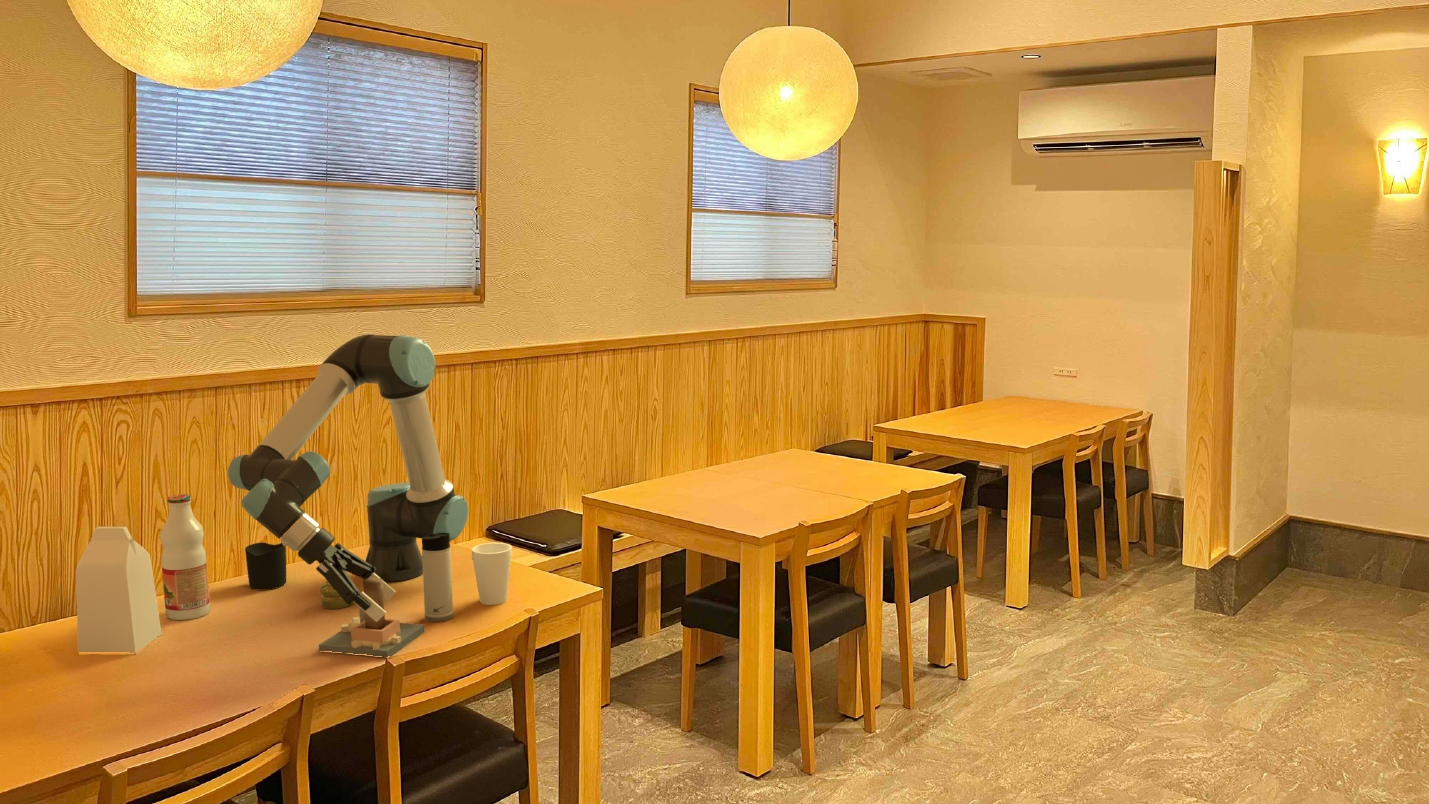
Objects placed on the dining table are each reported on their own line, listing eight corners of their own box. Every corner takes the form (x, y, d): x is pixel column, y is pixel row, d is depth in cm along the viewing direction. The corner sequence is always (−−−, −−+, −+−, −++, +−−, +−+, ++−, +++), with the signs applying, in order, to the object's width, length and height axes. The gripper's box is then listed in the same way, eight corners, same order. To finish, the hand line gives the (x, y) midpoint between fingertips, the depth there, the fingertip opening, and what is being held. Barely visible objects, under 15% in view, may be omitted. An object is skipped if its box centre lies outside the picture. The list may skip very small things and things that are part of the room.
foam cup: (518, 594, 276) (516, 543, 274) (507, 607, 267) (506, 554, 265) (480, 593, 277) (478, 542, 275) (468, 606, 268) (466, 553, 266)
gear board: (360, 625, 256) (358, 587, 254) (425, 631, 252) (423, 593, 251) (319, 652, 240) (316, 612, 239) (387, 658, 236) (385, 618, 235)
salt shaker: (359, 604, 270) (357, 563, 268) (330, 612, 265) (328, 570, 263) (343, 597, 275) (341, 557, 273) (315, 604, 270) (312, 564, 268)
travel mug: (440, 624, 256) (436, 538, 253) (419, 619, 260) (415, 534, 256) (459, 616, 261) (456, 532, 258) (439, 611, 265) (435, 528, 262)
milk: (78, 654, 239) (67, 534, 235) (107, 635, 250) (96, 520, 246) (135, 654, 239) (125, 534, 235) (161, 635, 250) (152, 520, 246)
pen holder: (278, 577, 291) (275, 539, 289) (294, 585, 284) (292, 546, 283) (241, 585, 284) (238, 546, 283) (257, 593, 278) (254, 554, 276)
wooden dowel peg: (372, 631, 244) (369, 577, 242) (389, 632, 243) (386, 578, 241) (362, 637, 240) (359, 583, 238) (379, 639, 239) (376, 584, 237)
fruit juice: (199, 621, 259) (190, 501, 254) (158, 621, 259) (148, 501, 254) (217, 607, 268) (208, 491, 264) (177, 607, 268) (168, 491, 264)
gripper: (310, 536, 249) (384, 600, 253) (280, 569, 225) (363, 639, 229) (333, 512, 249) (408, 576, 253) (307, 543, 225) (389, 613, 229)
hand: (387, 606), depth 241 cm, fingers open, 12 cm apart
